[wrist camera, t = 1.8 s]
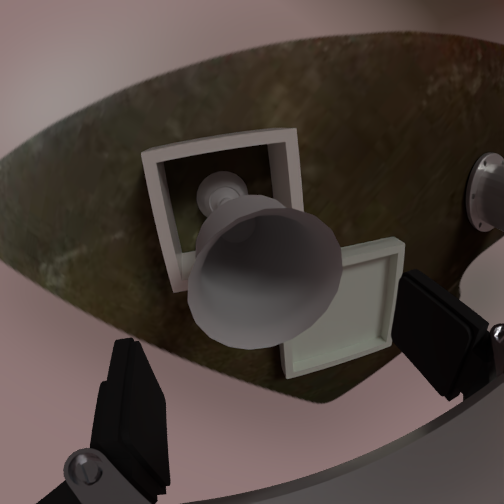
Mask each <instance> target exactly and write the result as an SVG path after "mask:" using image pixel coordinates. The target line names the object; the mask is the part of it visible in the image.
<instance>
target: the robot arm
mask: <svg viewBox="0 0 504 504" xmlns="http://www.w3.org/2000/svg"><path fill="white" fill-rule="evenodd" d="M466 211H467V215H468V219H469V221H470V223H471V225H472V226H473V227H474V228H476V229H477V230H479V231H482V232H487V231H490V230H492V229H493V228H494V227H495V228H497V229H500V230H502V231H504V159H503V158H502V157H501V156H500V155H498V154H496V153H486V154H484V155H482V156H481V157H480V158H479V159H478V160H477V162H476V163H475V165H474V167H473V169H472V171H471V173H470V176H469V180H468V184H467V189H466ZM488 325H489V323H488V322H487V321H486V320H484V319H483V318H482V317H481V316H479V315H478V314H477V313H476V312H474V311H473V310H472V309H470V308H469V307H468V306H467V305H465V304H464V303H463V302H461V301H460V300H459V299H457V298H456V297H455V296H453V295H452V294H451V293H449V292H448V291H447V290H445V289H444V288H443V287H441V286H440V285H439V284H437V283H436V282H434V281H433V280H432V279H430V278H429V277H428V276H426V275H425V274H423V273H422V272H421V271H419V270H417V269H414V270H411V271H408V272H405V273H403V274H402V276H401V278H400V279H399V282H398V290H397V298H396V305H395V311H394V318H393V324H392V330H391V338H392V341H393V342H394V343H395V344H396V346H397V347H398V348H399V349H400V350H401V351H402V352H403V353H404V354H405V356H406V357H407V358H408V359H409V360H410V361H411V362H412V363H413V365H414V366H415V367H416V368H417V369H418V370H419V371H420V372H421V373H422V375H423V376H424V377H425V378H426V379H427V380H428V382H429V383H430V384H431V385H432V386H433V387H434V388H435V390H436V391H437V392H438V393H439V394H440V395H441V396H445V397H446V399H447V400H448V401H451V400H452V399H454V398H455V397H457V396H458V395H459V394H460V392H461V393H462V394H463V402H461V403H460V404H458V405H457V406H455V407H454V408H452V409H450V410H449V411H447V412H446V413H444V414H443V415H441V416H439V417H437V418H436V419H434V420H432V421H430V422H429V423H427V424H426V425H424V426H422V427H420V428H418V429H416V430H414V431H412V432H411V433H409V434H407V435H405V436H403V437H401V438H399V439H397V440H395V441H393V442H391V443H389V444H387V445H385V446H383V447H381V448H378V449H376V450H374V451H372V452H370V453H367V454H365V455H362V456H360V457H358V458H355V459H353V460H350V461H348V462H345V463H343V464H340V465H338V466H335V467H332V468H329V469H327V470H324V471H321V472H318V473H315V474H312V475H309V476H306V477H303V478H299V479H296V480H293V481H290V482H286V483H282V484H279V485H275V486H271V487H267V488H263V489H259V490H254V491H250V492H245V493H241V494H236V495H231V496H226V497H221V498H215V499H209V500H202V501H195V502H189V503H183V504H504V324H496V325H494V326H493V327H492V328H491V330H490V332H488V331H487V328H488ZM63 471H64V477H65V479H66V480H65V481H64V482H63V483H61V484H60V485H59V486H58V487H57V488H56V489H54V490H53V491H52V492H50V493H49V494H48V495H46V496H45V497H44V498H43V499H41V500H40V501H39V502H38V503H36V504H155V503H156V502H157V501H158V500H157V495H163V494H166V486H170V471H169V458H168V443H167V424H166V402H165V397H164V394H163V392H162V390H161V388H160V386H159V384H158V382H157V379H156V377H155V375H154V373H153V371H152V369H151V366H150V364H149V362H148V360H147V357H146V355H145V353H144V351H143V348H142V346H141V344H140V342H139V341H134V339H133V338H125V339H119V340H116V341H115V343H114V347H113V352H112V357H111V361H110V366H109V371H108V377H107V381H103V382H102V383H101V384H100V388H99V393H98V398H97V404H96V409H95V415H94V422H93V428H92V435H91V442H90V448H84V449H79V450H77V451H76V452H74V453H72V454H71V455H70V456H69V458H68V459H67V461H66V462H65V465H64V470H63Z"/></svg>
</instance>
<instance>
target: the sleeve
mask: <svg viewBox="0 0 504 504" xmlns="http://www.w3.org/2000/svg"><path fill="white" fill-rule="evenodd" d="M263 144H267V146H268V154H269V163H270V172H271V181H272V190H273V199H276V200H277V201H279V202H280V203H281V204H282V205H284V206H285V207H286V208H293V209H296V210H299V211H302V212H304V209H303V195H302V183H301V172H300V161H299V150H298V140H297V131H296V128H269V129H261V130H252V131H244V132H237V133H230V134H223V135H217V136H211V137H205V138H199V139H193V140H188V141H182V142H177V143H172V144H167V145H162V146H158V147H153V148H150V149H148V150H146V151H144V152H142V153H141V156H142V162H143V167H144V172H145V177H146V182H147V187H148V192H149V197H150V201H151V206H152V210H153V215H154V219H155V224H156V228H157V232H158V236H159V240H160V245H161V249H162V253H163V256H164V260H165V264H166V268H167V272H168V275H169V279H170V283H171V286H172V290H173V293H176V292H181V291H186V290H188V279H189V276H190V273H191V271H192V268H193V265H194V263H195V260H196V257H195V254H196V251H192V252H187V253H182V250H181V246H180V241H179V237H178V232H177V228H176V223H175V218H174V214H173V209H172V204H171V199H170V194H169V189H168V184H167V178H166V173H165V167H164V162H163V161H167V160H172V159H177V158H182V157H187V156H192V155H198V154H203V153H209V152H215V151H221V150H227V149H234V148H241V147H248V146H255V145H263Z"/></svg>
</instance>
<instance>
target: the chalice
mask: <svg viewBox="0 0 504 504" xmlns="http://www.w3.org/2000/svg"><path fill="white" fill-rule="evenodd" d="M197 204H198V207H199V209H200V210H201V212H202V213H203V214H204V215H205V216H206V217H208V218H207V219H206V221H205V222H204V223H203V224H202V226H201V229H200V232H199V234H198V237H197V239H196V254H195V257H196V260H195V263H194V265H193V268H192V271H191V273H190V276H189V279H188V304H189V307H190V310H191V312H192V315H193V318H194V320H195V322H196V323H197V325H198V326H199V327H200V328H201V329H202V330H203V331H204V332H205V333H206V334H207V335H208V336H209V337H210V338H212V339H214V340H216V341H218V342H220V343H222V344H224V345H226V346H229V347H235V348H242V349H249V350H250V349H258V348H266V347H272V346H275V345H278V344H280V343H283V342H286V341H288V340H291V339H293V338H295V337H296V336H298V335H299V334H301V333H302V332H304V331H305V330H307V329H308V328H310V327H311V326H312V325H313V324H314V323H315V322H316V321H317V320H318V319H319V318H320V317H321V316H322V315H323V314H324V313H325V312H326V311H327V309H328V307H329V305H330V304H331V302H332V300H333V298H334V297H335V295H336V293H337V291H338V288H339V284H340V280H341V276H342V272H343V266H342V253H341V248H340V246H339V244H338V242H337V240H336V238H335V236H334V234H333V232H332V230H331V229H330V228H329V227H328V226H326V225H325V224H324V223H323V222H322V221H321V220H319V219H318V218H317V217H316V216H315V215H312V214H309V213H305V212H302V211H299V210H296V209H293V208H286V207H285V206H284V205H282V204H281V203H280V202H279V201H277V200H276V199H272V198H269V197H266V196H263V195H248V190H247V186H246V184H245V183H244V181H243V180H242V179H241V178H240V177H239V176H238V175H236V174H234V173H231V172H228V171H219V172H216V173H212V174H210V175H209V176H208V177H206V178H205V179H204V180H203V181H202V183H201V184H200V185H199V188H198V191H197Z"/></svg>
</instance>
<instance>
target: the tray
mask: <svg viewBox="0 0 504 504" xmlns="http://www.w3.org/2000/svg"><path fill="white" fill-rule="evenodd" d="M404 252H405V243H403V242H402V241H400V240H399V239H397V238H395V237H394V236H393V237H389V238H384V239H379V240H375V241H370V242H366V243H361V244H356V245H352V246H347V247H342V248H341V253H342V266H343V272H342V276H341V280H340V284H339V288H338V291H337V293H336V295H335V297H334V298H333V300H332V302H331V304H330V305H329V307H328V309H327V311H326V312H325V313H324V314H323V315H322V316H321V317H320V318H319V319H318V320H317V321H316V322H315V323H314V324H313V325H312V326H311V327H310V328H308V329H307V330H305V331H304V332H302V333H301V334H299V335H298V336H296V337H295V338H293V339H291V340H288V341H286V342H283V343H280V344H279V348H280V358H281V367H282V370H283V372H284V375H285V377H286V379H290V378H293V377H297V376H301V375H304V374H308V373H311V372H315V371H318V370H321V369H325V368H328V367H331V366H334V365H337V364H341V363H344V362H347V361H350V360H353V359H356V358H359V357H361V356H364V355H367V354H370V353H373V352H375V351H378V350H381V349H384V348H386V347H389V346H391V344H392V338H391V330H392V324H393V318H394V311H395V305H396V298H397V290H398V282H399V279H400V278H401V276H402V272H403V262H404Z"/></svg>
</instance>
